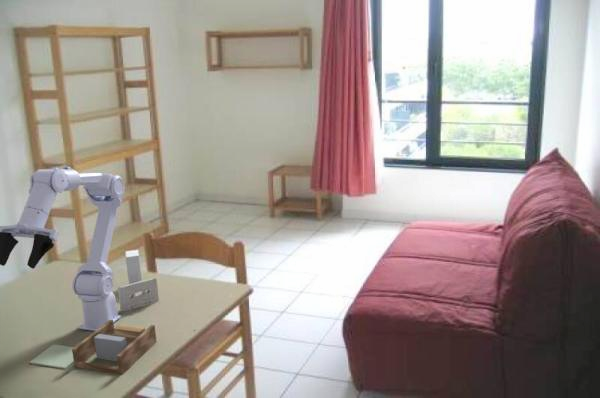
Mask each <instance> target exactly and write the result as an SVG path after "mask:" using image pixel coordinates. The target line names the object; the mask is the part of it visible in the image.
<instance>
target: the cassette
mask: <svg viewBox="0 0 600 398" xmlns="http://www.w3.org/2000/svg"><path fill="white" fill-rule="evenodd" d="M157 280H158V279H157V278H156V277H151V278H148V279H143V280H142V281H140V282H136V283H133V284H129V283H128V284H126V285H121V286H119V287H117V292H118V300H119V309H120V311H121V312H125V311H129V310H132V309H133V310H134V309H137V308H140V307H143V306H147V305H151V304H153V303H155V302H159V301H160V297H159V289H158V281H157ZM139 292H142V293H139ZM136 293H139V294H136Z"/></svg>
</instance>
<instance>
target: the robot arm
mask: <svg viewBox="0 0 600 398" xmlns="http://www.w3.org/2000/svg"><path fill="white" fill-rule="evenodd" d="M29 182H30V183H29V184H30V186H29V189H28V194H29V195H28V198H27V201H26V203H25V205H24V207H23V210H22V213H21V215H20V218H19V220H18V222H17V223H16V224H11V225H10V224H9V225H0V266H3V267H5V266H6V264H7V262H8V259H9V258H10V255H11V253H12V251H13V250H14V248H16V246H17V244H18V243H19V240H17V239H16V238H15V237H18V238H27V239H28V238H29V239H30V238H31V239H33V242H32V243H33V244H32V248H31V252H30V254H29V257H28V260H27V267H29V268H31V269H35V268H36V266H37V265H38V264H39V262H40V261H41V260H42V259H43V257H45V255H46V254H47V253H48V252H49V251H50V250H52V249H53V248H54V246H55V244H54V243H53V242H57V241H58V238H59V236H60V233H59V232H58V231H57V230H55V229H48V228H45V226H46V223H47V220H48V219H49V215H50V212H51V210H52V207H53V205H54V202H55V199H56V197H57V195H58V193H59V194H61V193H63V192H71V191H75V190H77V189H78V188H79V187H80V186H82V188H83V189H84V192H85V193H86V195H87V196H88V198H89V199H90V202H91V203H92V204H93V205H94V207H97V209H98V213H97V218H96V222H95V226H94V231H93V235H92V240H91V245H90V248H89V253H88V258H87V260H86V262H85V263H83V264H81V265H80V266H78V268H77V271H76V274H75V276H74V277H73V279H72V285H71V287H72V290H73V292H74V294H75V295H77V296H78V299H79V300H80V299H81V306H82V312H83V313H82V314H83V320H84V322H83V323H82V324H81V325H79V326H78V330H83V331H84V330H86V331H92V332H95V331H96V330H97V329H99V328H100V327H101V326H102V325H104V324H105V323H106V322H108V321H109V320H113V324H114V323H115V322H117V321H118V320H119V319H121V317H122V316H121V315H120V314H118V305H117V299H116V296H115V294H114V292H113V287H114V280H113V279H114V272H113V270H112V269H111V268H110V267H109V266H108V264H107V263H108V258H109V254H110V253H109V252H110V250H111V249H110V248H111V245H112V244H111V243H112V240H113V235H114V231H115V226H116V222H117V221H116V220H117V215H118V212H119V208H120V207H121V206H122V204H123V198H124V194H125V189H126V187H125V184H124V183H125V182H124V181H123V179H122V176H120V175H117V174H116V175H114V174H111V173H104V172H84V173H83V172H82V173H79V172H78V171H77V170H75V169H72V167H71V166H63V167H62V168H60V169H59V167H51V168H50V169H47V168H46V169H44V168H43V169H42V168H41V169H37V171H36V170H35V172H33V173H31V174H30V179H29Z"/></svg>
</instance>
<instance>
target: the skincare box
mask: <svg viewBox="0 0 600 398" xmlns="http://www.w3.org/2000/svg"><path fill="white" fill-rule="evenodd" d="M124 253H125V261H126V263H125V264H126V270H127V271H126V272H127V278H128V285H129V284H133V283H136V282H140V281H143V278H142V270H141V263H140V254H139V249H133V250H126V251H125V252H124Z"/></svg>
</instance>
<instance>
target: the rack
mask: <svg viewBox="0 0 600 398" xmlns="http://www.w3.org/2000/svg"><path fill="white" fill-rule="evenodd" d="M114 328H115V325H114V323H113V320H109V321H108V322H106V323H105V324H104V325H102V326H101V327H100V328H99V329H97V330H96V331H92V332H91V334H90V335H88V336H87V337H85V338H84V339H83V340H82V341H80V342H78V344H76V345H75V346H73V347H74V348H73V349H72V353H73V359H74V363H73V364H74V367H75V368H81V369H88V370H93V371H99V372H100V371H101V372H106V373H112V374H119V375H124V374H125V372H127V371H128V370H129V369H130V368H131V367H133V366H134V365H135V363H136V362H138V360H140V358H141V357H143V356H144V355H145V354H146V353H147V352H148V351H149V350H150V349H151V348H152V347H153V346H154V345H155V344H156V343H157V335H156V334H157V333H156V326H155V325H153V324H150V326H148V328H145V331H144V332H143V333H142V334H141V335H140V336H138V337H137V338H136V339H135V340H134V341H133V342H132V343H130V344H129V345H127V347H126V348H125V349H124V350H123V351H121V352H120V353H119V354H118V355H117V361H116V362H117V367H116V366H111V365H103V364H97V363H92V362H86V361H87V360H89V359H90V358H91V357H92V356H94V355H95V354H96V353H95V352H96V348H95V341H94V337H95V336H97V335H98V334H104V335H111V336H112V335H113V334H114ZM94 353H95V354H94ZM91 355H92V356H91ZM90 356H91V357H90ZM89 357H90V358H89ZM88 358H89V359H88Z"/></svg>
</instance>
